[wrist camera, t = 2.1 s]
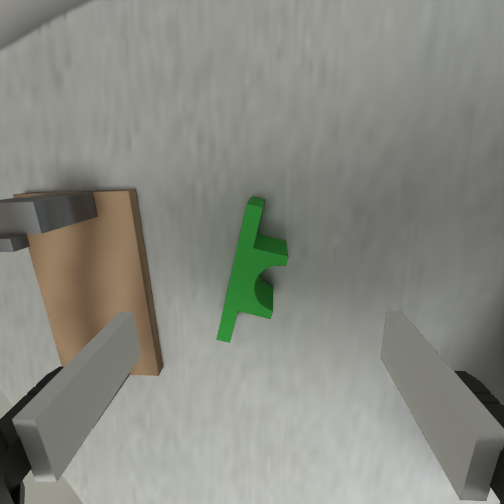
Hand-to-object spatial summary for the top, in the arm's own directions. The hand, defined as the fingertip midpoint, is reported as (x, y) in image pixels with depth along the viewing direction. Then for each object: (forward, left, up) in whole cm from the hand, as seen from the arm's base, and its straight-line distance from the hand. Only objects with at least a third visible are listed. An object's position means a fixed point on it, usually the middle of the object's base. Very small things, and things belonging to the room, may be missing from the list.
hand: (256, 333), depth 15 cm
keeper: (+16, +2, -11) cm, 19 cm away
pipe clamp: (+1, 0, -11) cm, 11 cm away
